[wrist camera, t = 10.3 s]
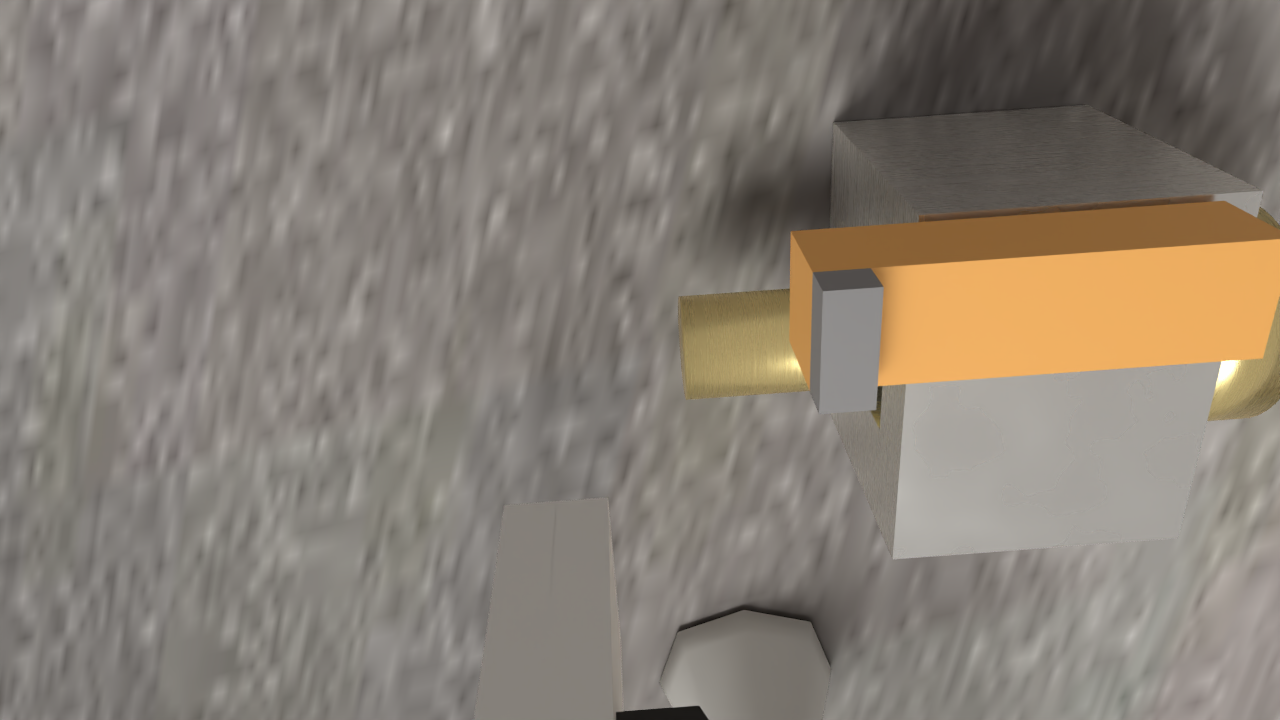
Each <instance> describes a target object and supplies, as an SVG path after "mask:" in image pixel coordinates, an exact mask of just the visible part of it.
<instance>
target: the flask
mask: <svg viewBox="0 0 1280 720" xmlns="http://www.w3.org/2000/svg"><path fill="white" fill-rule="evenodd" d="M830 674H831V668H830V665H829V663H828V661H827V658H826V656H825V654H824V651H823V649H822V647H821V645H820V642H819V640H818V638H817V635H816V633H815V631H814V628H813V626H812V624H811V622H809V621H803V620H798V619H792V618H786V617H781V616H775V615H770V614H764V613H758V612H753V611H747V610H742V611H739V612H736V613H733V614H730V615H727V616H724V617H721V618H718V619H715V620H712V621H709V622H706V623H703V624H700V625H697V626H694V627H691V628H689V629H686V630H683V631H680V632H678V633H677V636H676V638H675V641H674V644H673V647H672V649H671V652H670V655H669V658H668V660H667V663H666V666H665V669H664V672H663V674H662V677H661V680H660V685H661V687H662V689H663V690H664V692H665V694H666V696H667V698H668V700H669V702H670V704H671V705H672V707H673V708H674V707H687V706H700V707H701V709H702V710H703V712H704V713H705V715H706V716H707V718H708V719H709V720H822V719H823V714H824V709H825V703H826V698H827V693H828V688H829V681H830Z"/></svg>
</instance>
